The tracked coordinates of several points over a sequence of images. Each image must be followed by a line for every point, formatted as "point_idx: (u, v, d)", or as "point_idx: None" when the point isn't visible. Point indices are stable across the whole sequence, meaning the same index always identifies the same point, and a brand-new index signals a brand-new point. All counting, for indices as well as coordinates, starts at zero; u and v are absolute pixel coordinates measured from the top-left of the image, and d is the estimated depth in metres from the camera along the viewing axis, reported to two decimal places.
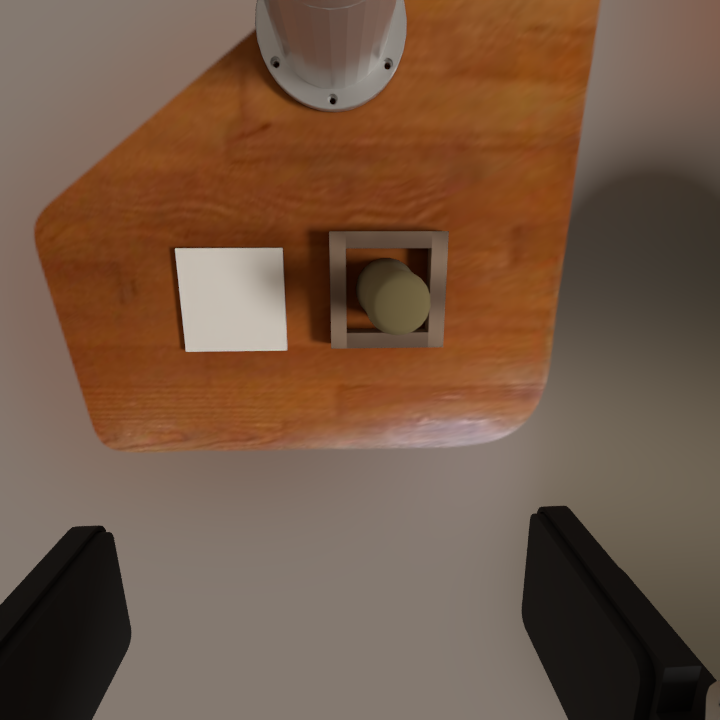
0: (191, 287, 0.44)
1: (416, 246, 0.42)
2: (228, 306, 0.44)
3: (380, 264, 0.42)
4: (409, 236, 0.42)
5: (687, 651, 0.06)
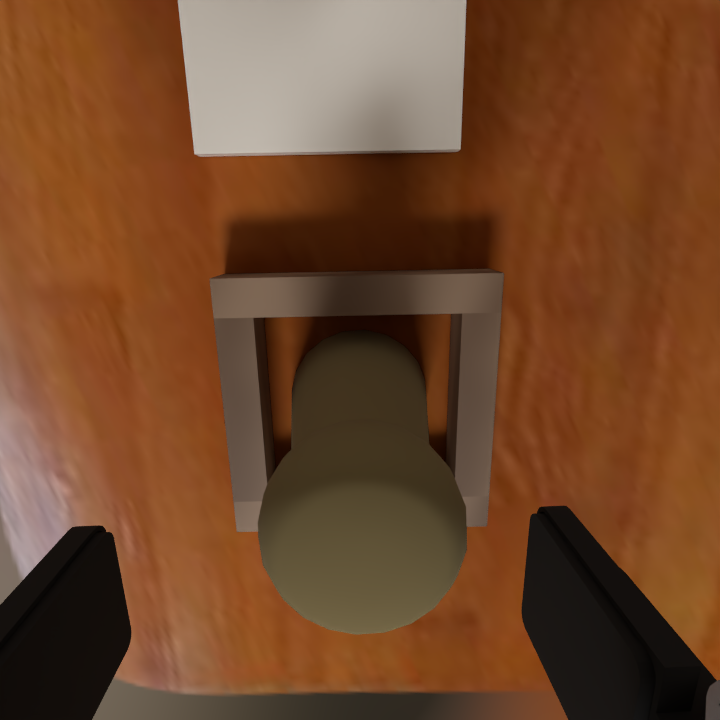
0: None
1: (459, 466, 0.19)
2: None
3: (424, 396, 0.18)
4: (481, 451, 0.19)
5: (687, 651, 0.06)
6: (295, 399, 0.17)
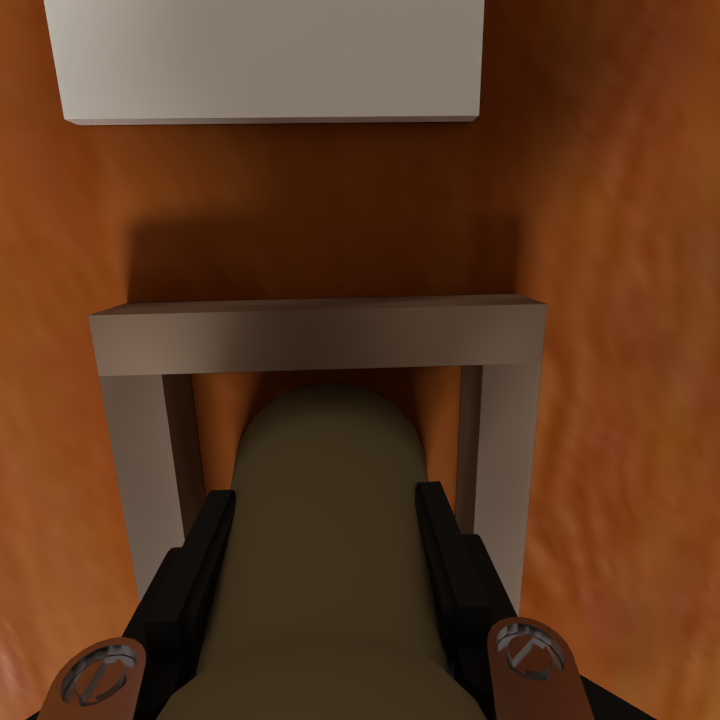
0: None
1: None
2: None
3: None
4: (509, 560, 0.13)
5: (485, 594, 0.07)
6: None
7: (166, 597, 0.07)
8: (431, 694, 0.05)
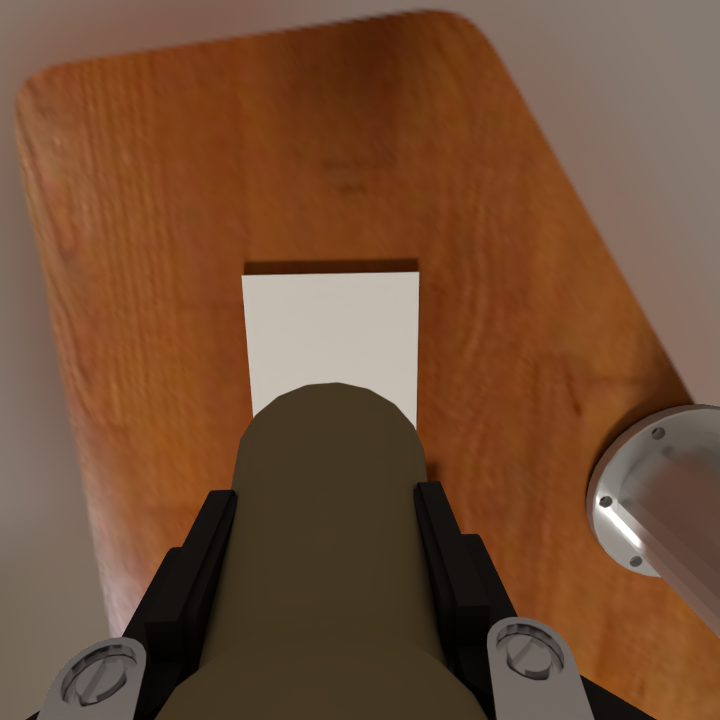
0: (355, 294, 0.26)
1: None
2: (324, 352, 0.27)
3: None
4: None
5: (484, 594, 0.07)
6: None
7: (166, 597, 0.07)
8: (430, 687, 0.05)
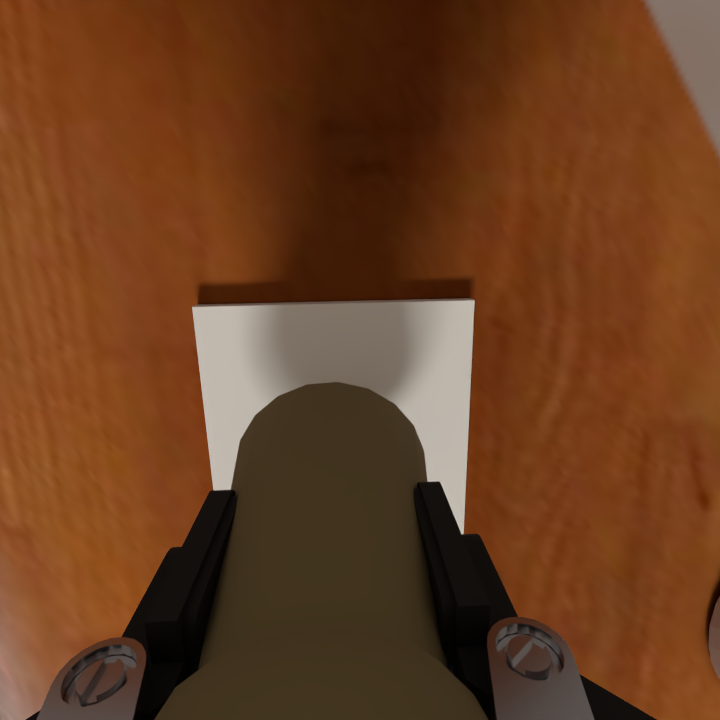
0: (372, 335, 0.16)
1: None
2: None
3: None
4: None
5: (484, 594, 0.07)
6: None
7: (166, 597, 0.07)
8: (430, 687, 0.05)
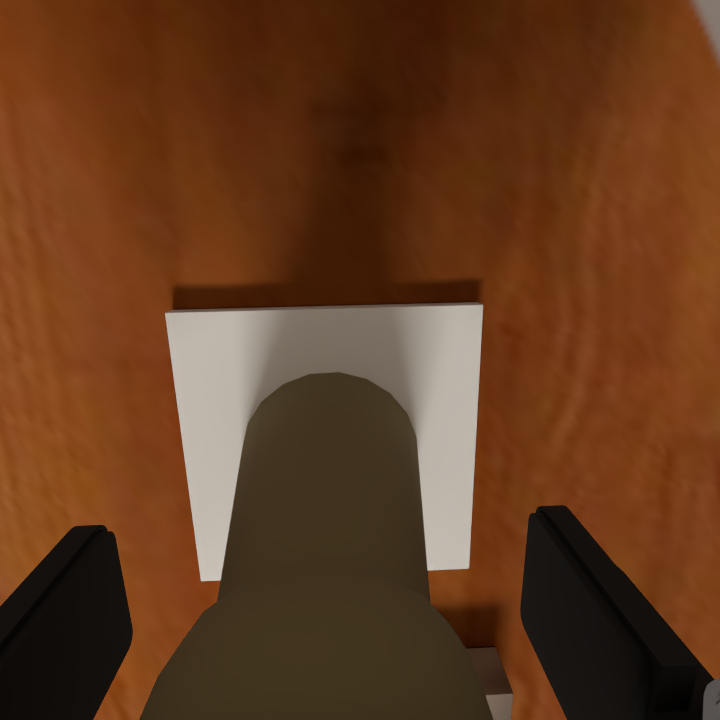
0: (369, 343, 0.15)
1: None
2: None
3: (416, 468, 0.13)
4: None
5: (685, 650, 0.06)
6: (239, 474, 0.12)
7: None
8: (413, 608, 0.07)
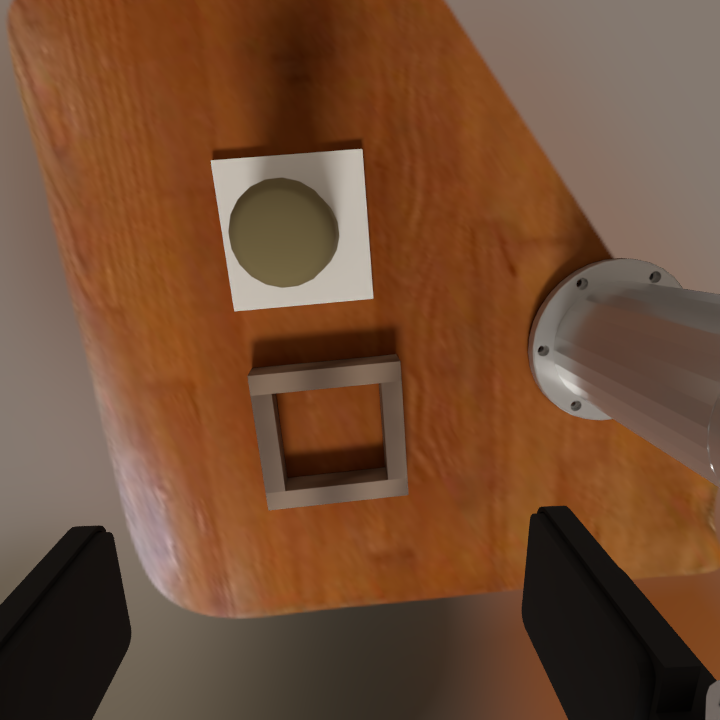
0: (309, 172, 0.30)
1: (388, 463, 0.35)
2: None
3: None
4: (400, 453, 0.35)
5: (687, 651, 0.06)
6: None
7: None
8: None
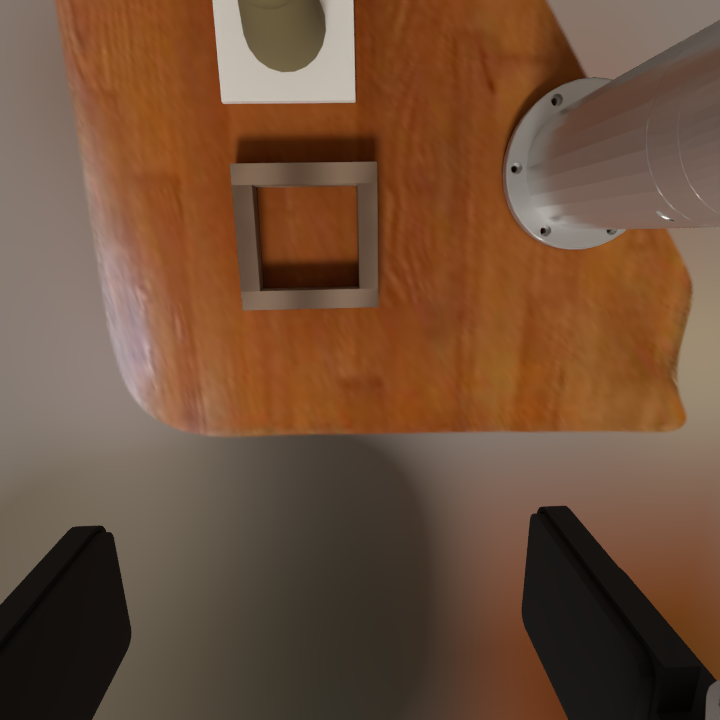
0: None
1: (361, 270, 0.36)
2: None
3: None
4: (372, 261, 0.36)
5: (687, 651, 0.06)
6: None
7: None
8: None
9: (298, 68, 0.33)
